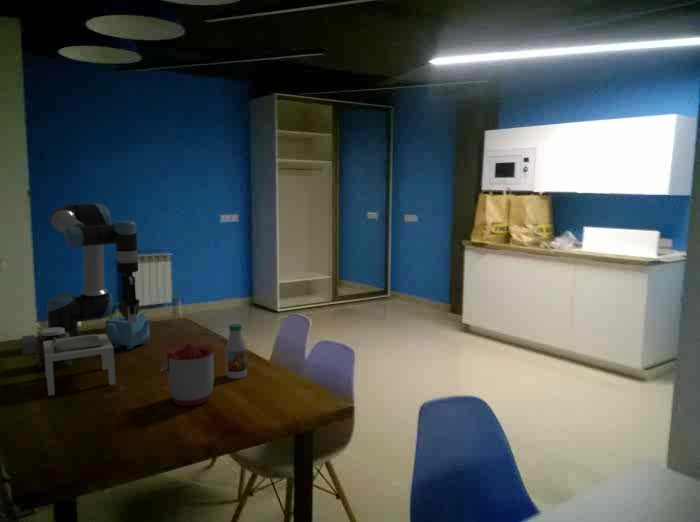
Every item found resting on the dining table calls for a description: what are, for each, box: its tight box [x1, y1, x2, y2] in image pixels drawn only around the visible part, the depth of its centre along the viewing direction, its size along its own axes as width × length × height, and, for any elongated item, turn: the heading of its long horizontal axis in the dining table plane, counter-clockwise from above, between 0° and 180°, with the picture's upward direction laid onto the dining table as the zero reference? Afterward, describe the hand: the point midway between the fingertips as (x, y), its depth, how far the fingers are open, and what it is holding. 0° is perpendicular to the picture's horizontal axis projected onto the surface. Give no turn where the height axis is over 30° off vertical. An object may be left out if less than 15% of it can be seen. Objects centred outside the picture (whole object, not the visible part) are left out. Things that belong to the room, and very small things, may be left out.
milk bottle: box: [225, 323, 248, 380], centre depth 205 cm, size 8×8×20 cm
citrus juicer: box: [160, 343, 215, 407], centre depth 181 cm, size 16×17×20 cm
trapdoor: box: [21, 333, 101, 355], centre depth 196 cm, size 24×14×4 cm, turn 121°
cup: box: [118, 298, 141, 321], centre depth 207 cm, size 8×7×8 cm
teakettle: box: [105, 311, 154, 351], centre depth 244 cm, size 19×19×15 cm
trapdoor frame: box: [43, 333, 117, 396], centre depth 200 cm, size 22×22×16 cm
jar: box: [36, 327, 73, 371], centre depth 216 cm, size 12×12×15 cm
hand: (130, 320), depth 208 cm, fingers closed on cup, 7 cm apart
